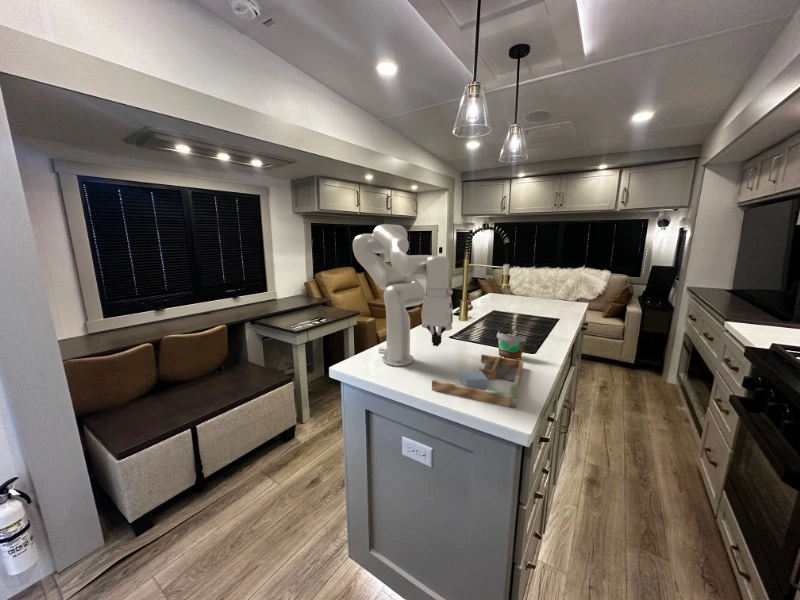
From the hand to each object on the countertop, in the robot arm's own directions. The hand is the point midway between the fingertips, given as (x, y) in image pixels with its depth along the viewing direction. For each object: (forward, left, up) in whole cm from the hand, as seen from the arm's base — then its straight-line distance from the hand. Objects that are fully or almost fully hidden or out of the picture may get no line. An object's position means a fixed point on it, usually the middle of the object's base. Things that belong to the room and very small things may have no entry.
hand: (436, 344), depth 107 cm
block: (+13, +1, -13) cm, 18 cm away
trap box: (+15, +8, -13) cm, 21 cm away
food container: (+21, +34, -13) cm, 41 cm away
